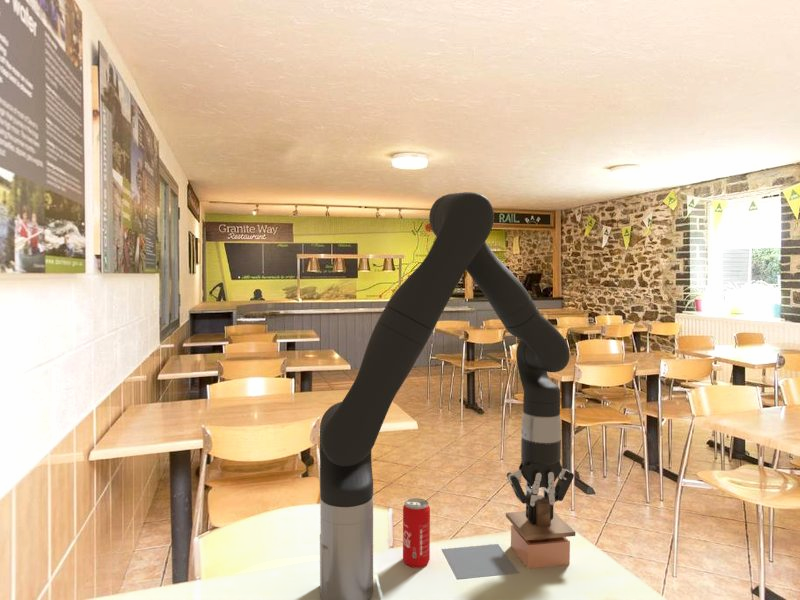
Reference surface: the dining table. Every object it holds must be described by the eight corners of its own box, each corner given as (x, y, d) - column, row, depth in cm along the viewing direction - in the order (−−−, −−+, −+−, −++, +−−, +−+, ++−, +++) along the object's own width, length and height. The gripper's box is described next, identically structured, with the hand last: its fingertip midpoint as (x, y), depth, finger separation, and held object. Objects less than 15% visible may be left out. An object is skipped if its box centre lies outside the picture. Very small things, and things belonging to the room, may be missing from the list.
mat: (457, 582, 99) (457, 579, 99) (441, 552, 110) (441, 549, 110) (519, 575, 101) (519, 572, 101) (498, 546, 112) (498, 543, 112)
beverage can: (427, 572, 102) (427, 510, 102) (400, 569, 104) (400, 507, 103) (431, 558, 108) (431, 498, 107) (405, 555, 109) (405, 496, 108)
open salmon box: (527, 571, 103) (528, 545, 103) (510, 548, 111) (511, 524, 111) (569, 566, 105) (569, 541, 104) (549, 545, 113) (549, 521, 113)
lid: (525, 540, 102) (526, 512, 102) (505, 516, 112) (506, 491, 111) (575, 536, 104) (576, 508, 103) (551, 512, 113) (552, 488, 113)
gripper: (514, 443, 102) (513, 533, 103) (583, 439, 104) (581, 527, 105) (500, 431, 109) (499, 516, 110) (564, 428, 112) (563, 511, 113)
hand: (539, 521), depth 108 cm, fingers closed on lid, 2 cm apart
